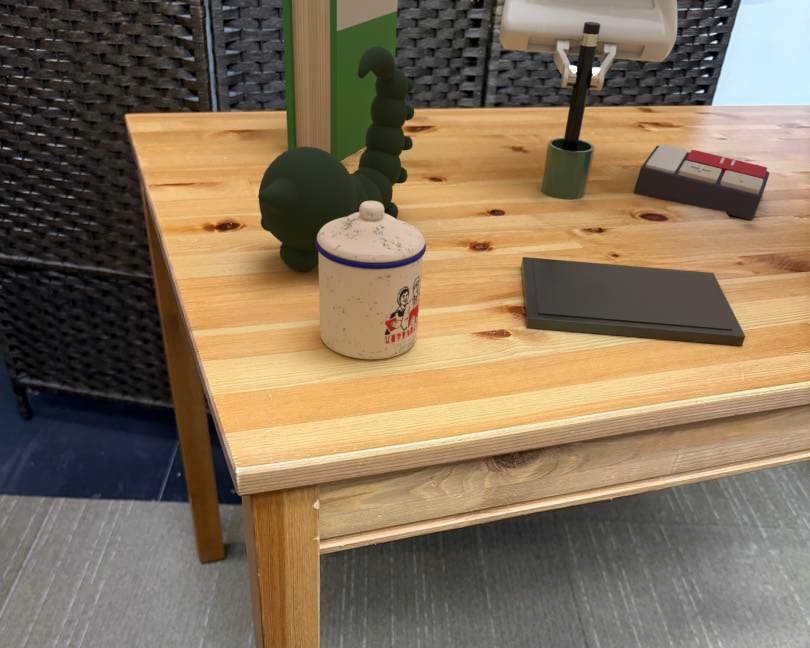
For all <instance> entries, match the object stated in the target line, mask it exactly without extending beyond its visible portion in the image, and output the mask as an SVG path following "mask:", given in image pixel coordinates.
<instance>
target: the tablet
mask: <svg viewBox="0 0 810 648" xmlns="http://www.w3.org/2000/svg"><path fill="white" fill-rule="evenodd" d="M715 275H716V274H715V273H714V272H710V271H709V272H707V271H696V270H695V271H694V270H684V269H672V268H660V267H647V266H639V265H638V266H637V265H624V264H612V263H603V262H602V263H601V262H600V263H599V262H589V261H588V262H587V261H577V260H576V261H575V260H566V259H565V260H564V259H552V258H539V257H530V256H529V257H528V256H522V259H521V277H522V291H523V302H524V314H525V316H524V317H525V326H526V328H528V329H529V328H530V329H538V330H551V331H561V332H562V331H563V332H574V333H586V334H597V335H607V336H608V335H609V336H620V337H622V336H623V337H633V338H643V339H644V338H645V339H657V340H668V341H680V342H691V343H704V344H715V345H724V346H725V345H726V346H739V347H742V346H743V344H744V341H745V338H746V335H745V332H744V331H743V329H742V327H741V324H740V323H739V321H738V318H737V317H736V315H735V313H734V310H733V309H732V307H731V304H730V303H729V301H728V299H727V297H726V295H725V293H724V291H723V288H722V287H721V285H720V283H719V281H718V279H717V277H716V276H715Z"/></svg>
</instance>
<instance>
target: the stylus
mask: <svg viewBox="0 0 810 648" xmlns="http://www.w3.org/2000/svg"><path fill="white" fill-rule="evenodd" d="M599 30H600V24H599V23H596V22H585V23H584V28H583V33H582V38H581V45H580V51H579V55H577V56H578V57H577V61H576V66H577V73H576V75H577V76H576V83H575V84H574V88H572V91H571V97H570V102H569V107H568V113H567V120H566V125H565V131H564V136H563V138H564V141H563V147H562V149H563V150H568V151H577V147H578V142H579V140H580V136H581V130H582V126H583V120H584V115H585V110H586V105H587V100H588V93H589V89H588V88H589V83H590V78H591V72H592V67H594V62H595V58H596V57H595V52H596V46H597V42H598V37H599Z"/></svg>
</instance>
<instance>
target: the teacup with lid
mask: <svg viewBox="0 0 810 648" xmlns="http://www.w3.org/2000/svg"><path fill="white" fill-rule="evenodd" d="M315 244H316V248H317V250H318V251H319V264H318V304H319V305H318V307H319V308H318V310H319V312H318V313H319V336H320V338H321V340H322V342H323V343H324V344H325V346H326V347H328V348H329V349H330V350H332V351H333V352H335V353H337V354H339V355H342V356H345V357H349V358H354V359H359V360H384V359H390V358H393V357H396V356H398V355H401V354H404V353H406V352H407V351H408V350H410V349H411V348H412V347H413V346H414V344H415V343H416V341H417V338H418V337H417V336H418V327H419V325H418V323H419V311H420V298H421V297H420V296H421V283H422V269H423V268H422V267H423V256H424V255H425V253H426V251H427V244H426V240H425V238H424V236H423V234H422V232H421V231H420V229H418V228H417V227H416V226H414V225H412V224H411V223H408V222H406V221H403V220H401V219H397V218H396V219H395V218H394V217H392V216H390V215H388V214H386V213H384V206H383V205H382V204H381V203H380V202H377V201H365V202H363V203H362V204H361V205H360V208H359V212H357V213H354V214H351V215H349V216H348V217H343V218H339V219H336V220H333V221H331V222H329V223H327V224H325V225H324V226H323V227H322V228H321V229H320V231H319V232H318V235H317V238H316V241H315Z"/></svg>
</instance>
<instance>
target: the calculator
mask: <svg viewBox="0 0 810 648" xmlns="http://www.w3.org/2000/svg"><path fill="white" fill-rule="evenodd" d="M770 173H771V172H770V171H768V167H767V166H763V165H759V164H755V163H751V162H746V161H743V160H738V159H734V158H731V157H730V158H729V157H725V156H721V155H717V154H712V153H710V152H709V153H708V152H704V151H701V150H696V149H691V150H690V152H689V151H688V150H687V149H684V148H680V147H676V146H672V145H667V144H665V143H664V144H663V143H661V144H658V145H656V146H655V147H654V149H653V150H652V152H650V154H649V156H648V157H647V158H646V160H645V161H644V162H643V163H642V165H641V166H640V169H639V173H638V176H637V179H636V182H635V186H634V190H633V194H634V195H636V196H642V197H646V198H647V197H648V198H653V199H657V200H663V201H673V202H677V203H681V204H685V205H689V206H693V207H698V208H703V209H708V210H713V211H719V212H725V213H726V215H728V216H733V217H737V218H739V219H744V220H748V221H752V220H754V218H755V216H756V213H757V210H758V208H759V205H760V203H761V201H762V197H763V194H764V191H765V189H766V187H767V183H768V180H769V177H770V175H771V174H770Z"/></svg>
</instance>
